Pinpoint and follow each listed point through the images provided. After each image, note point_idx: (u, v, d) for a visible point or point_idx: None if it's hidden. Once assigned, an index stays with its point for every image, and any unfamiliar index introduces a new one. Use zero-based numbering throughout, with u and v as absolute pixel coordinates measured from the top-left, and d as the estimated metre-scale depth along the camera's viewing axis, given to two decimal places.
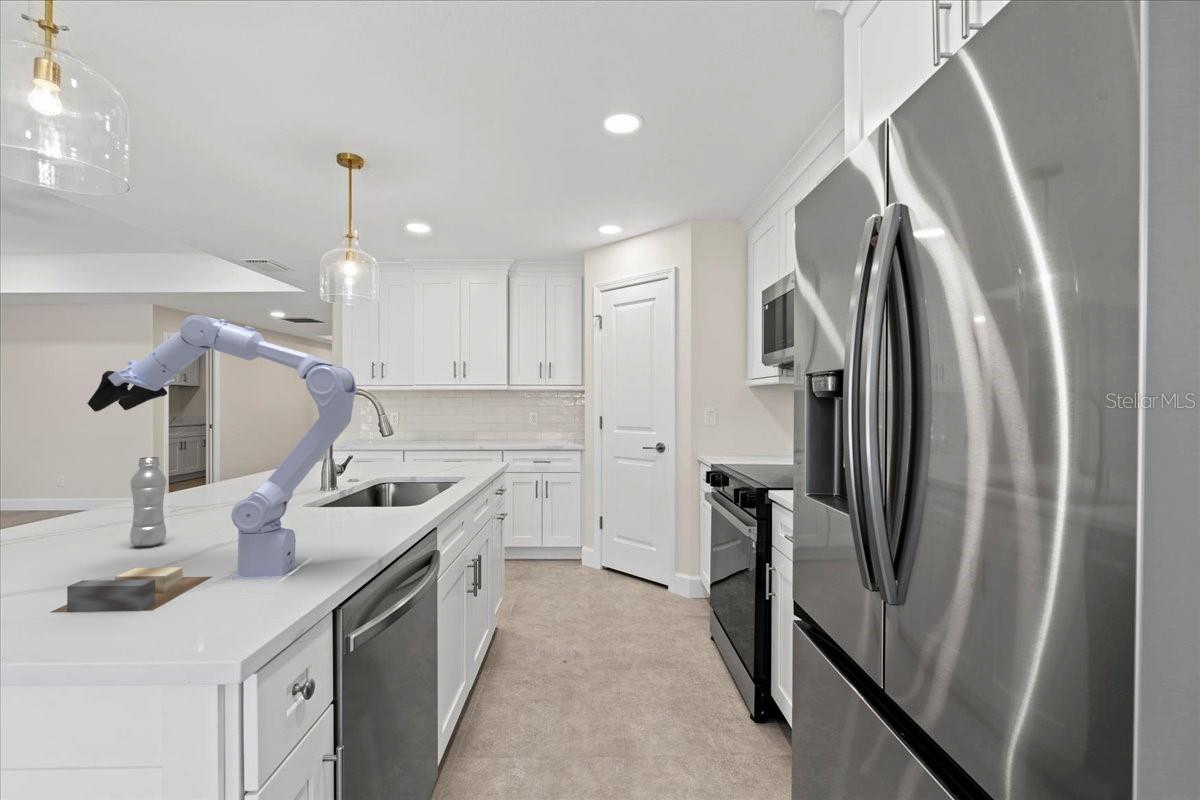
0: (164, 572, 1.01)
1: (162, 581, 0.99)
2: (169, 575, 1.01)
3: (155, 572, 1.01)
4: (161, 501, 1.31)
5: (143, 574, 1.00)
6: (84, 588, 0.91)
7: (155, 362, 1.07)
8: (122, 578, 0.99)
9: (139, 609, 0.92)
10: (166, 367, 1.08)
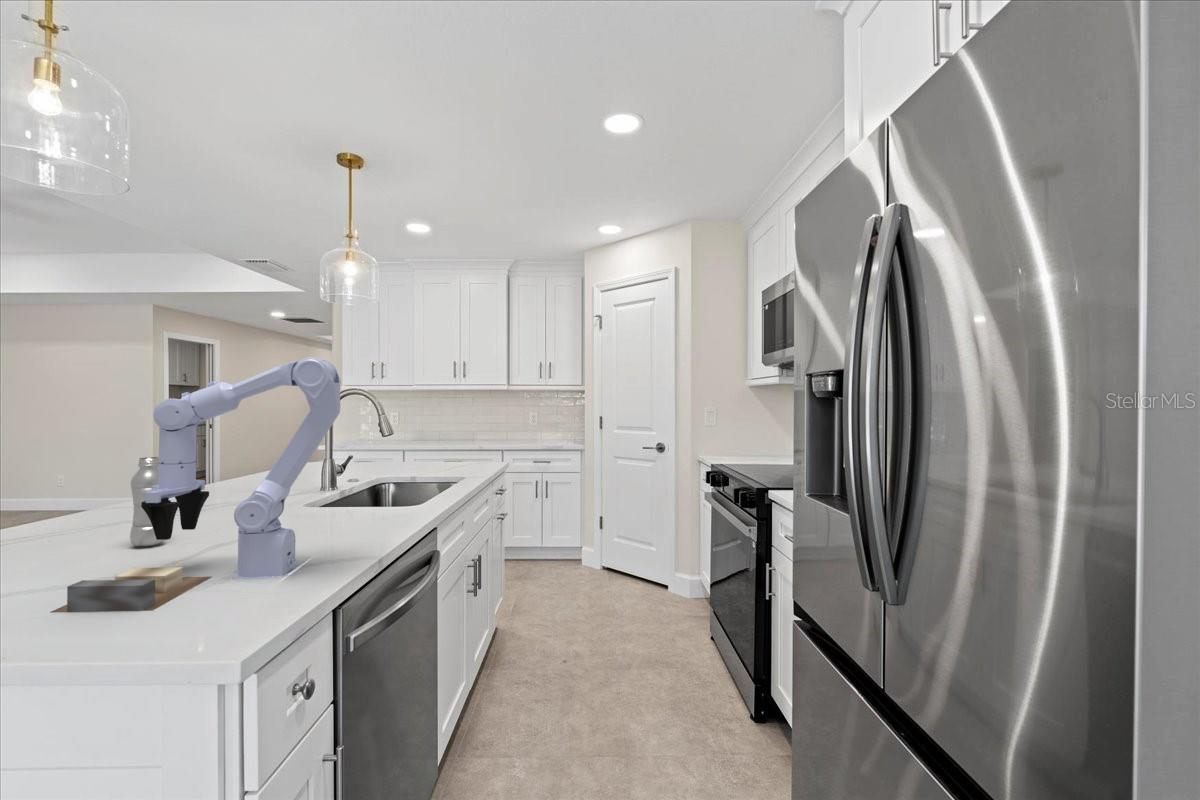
0: (164, 572, 1.01)
1: (162, 581, 0.99)
2: (169, 575, 1.01)
3: (155, 572, 1.01)
4: None
5: (143, 574, 1.00)
6: (84, 588, 0.91)
7: (168, 466, 1.06)
8: (122, 578, 0.99)
9: (139, 609, 0.92)
10: (183, 462, 1.07)
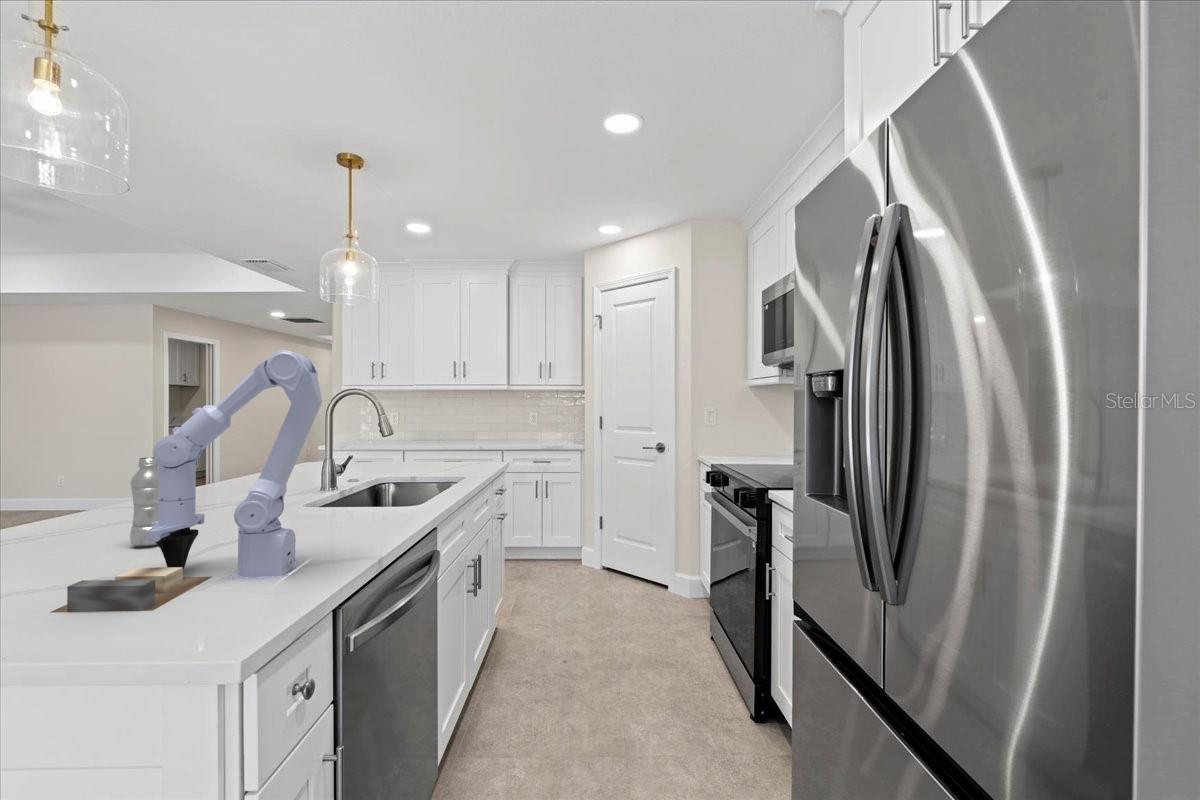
0: (164, 572, 1.01)
1: (162, 581, 0.99)
2: (169, 575, 1.01)
3: (155, 572, 1.01)
4: None
5: (143, 574, 1.00)
6: (84, 588, 0.91)
7: (168, 503, 1.06)
8: (122, 578, 0.99)
9: (139, 609, 0.92)
10: (182, 499, 1.07)
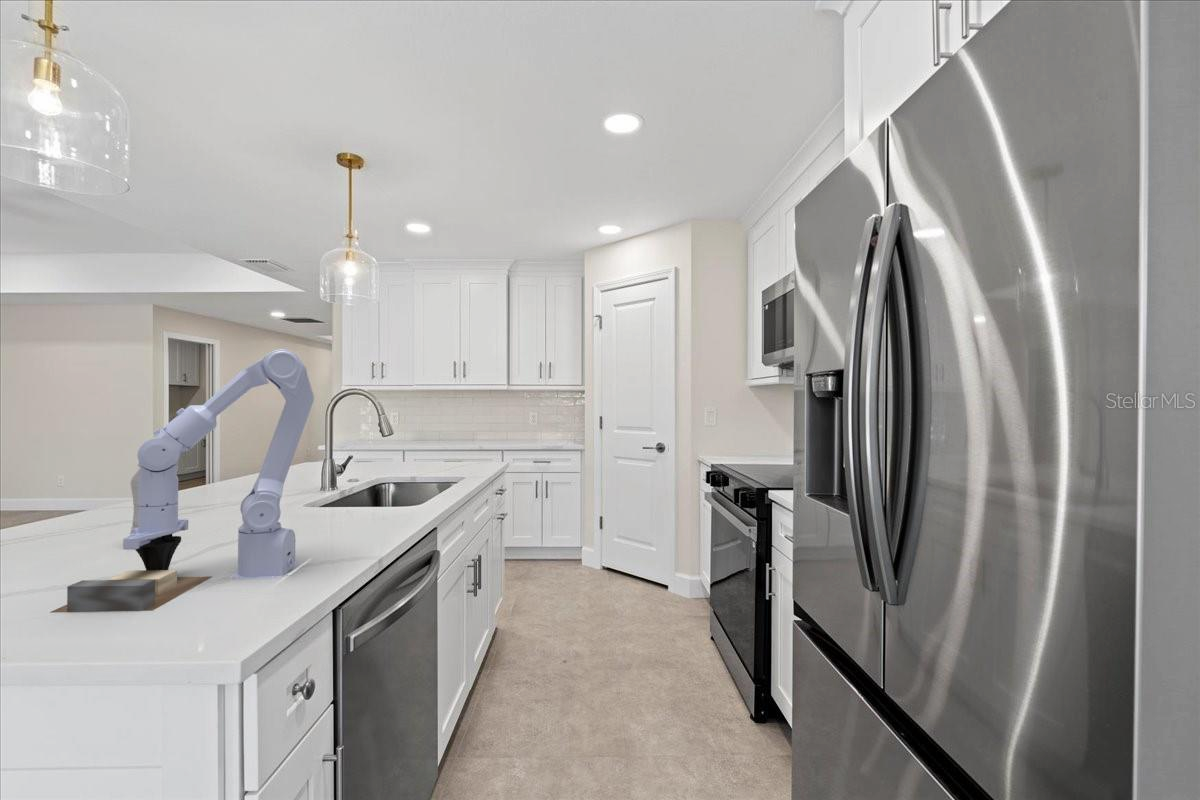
0: (158, 575, 1.00)
1: (155, 584, 0.98)
2: (163, 578, 0.99)
3: (149, 575, 1.00)
4: None
5: (136, 577, 0.98)
6: (84, 588, 0.91)
7: (148, 509, 1.01)
8: None
9: (139, 609, 0.92)
10: (170, 503, 1.03)
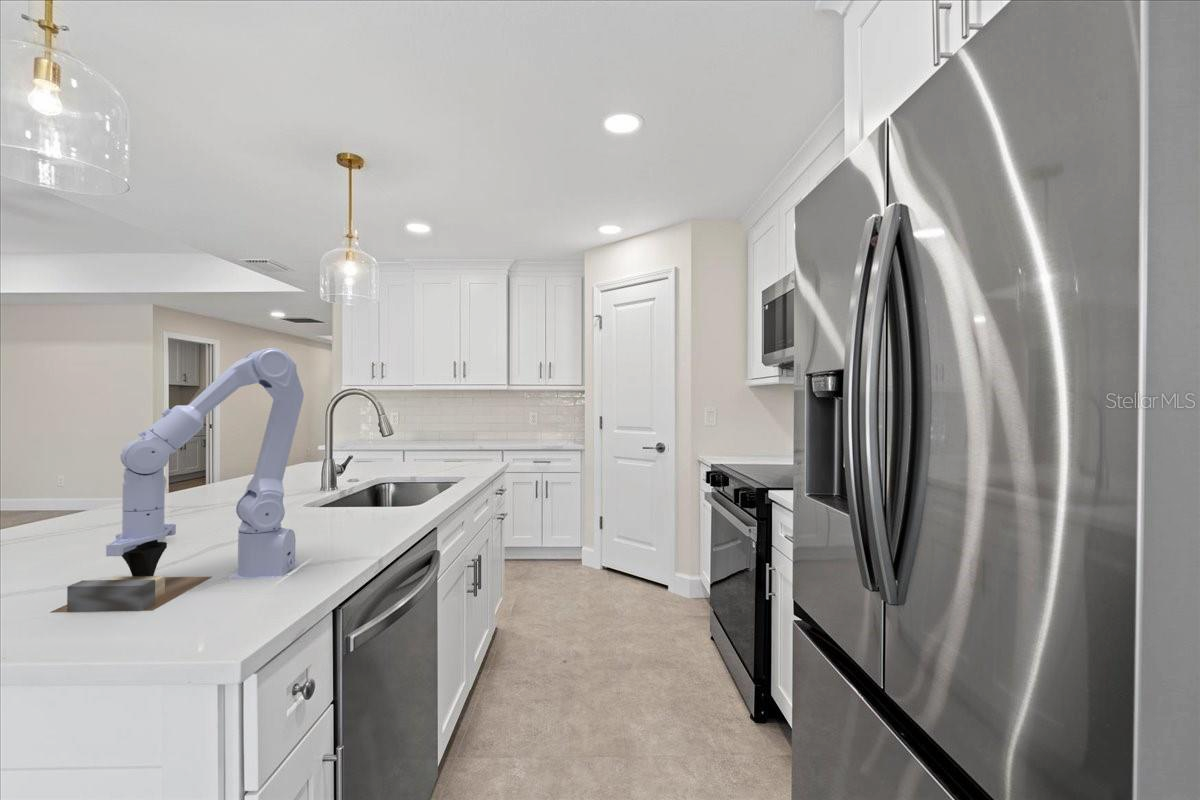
0: None
1: None
2: None
3: None
4: None
5: None
6: (84, 588, 0.91)
7: (133, 514, 0.97)
8: None
9: (139, 609, 0.92)
10: (158, 507, 0.99)
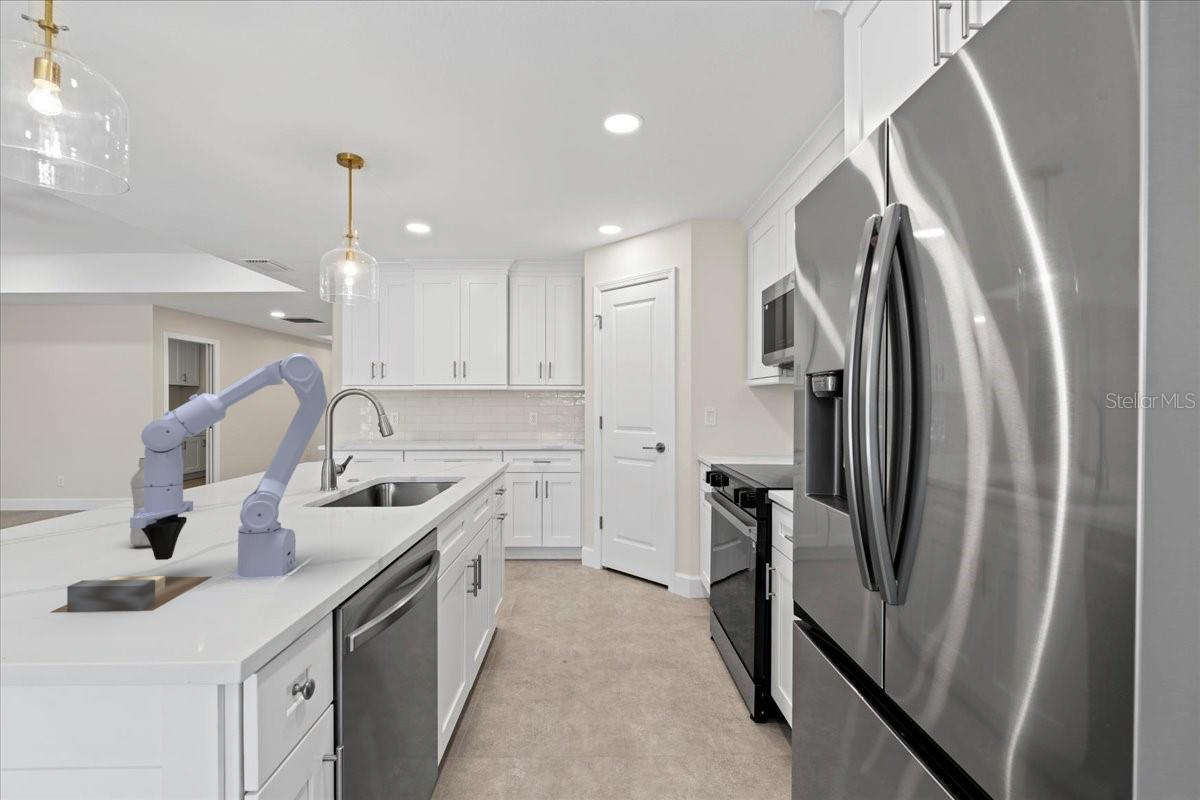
0: None
1: None
2: None
3: None
4: None
5: None
6: (84, 588, 0.91)
7: (154, 489, 1.02)
8: None
9: (139, 609, 0.92)
10: (173, 484, 1.04)
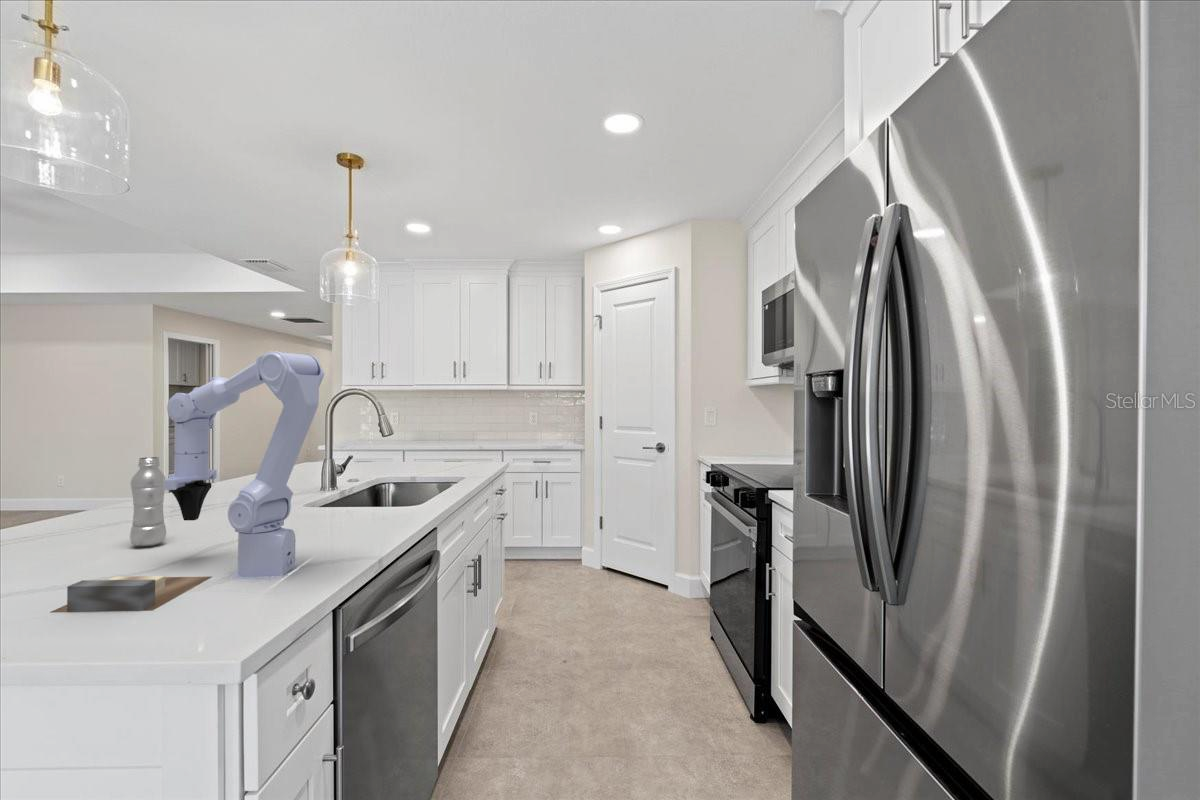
0: None
1: None
2: None
3: None
4: (161, 501, 1.31)
5: None
6: (84, 588, 0.91)
7: (183, 456, 1.14)
8: None
9: (139, 609, 0.92)
10: (188, 453, 1.14)
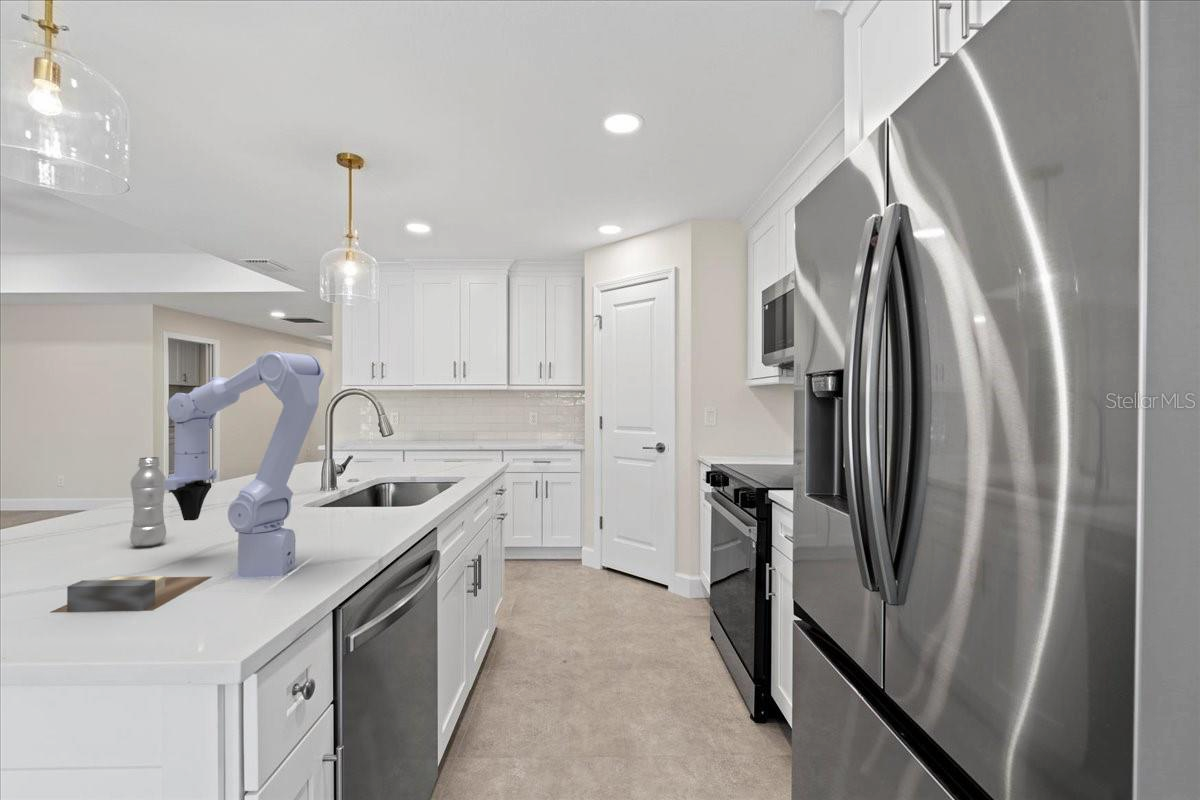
0: None
1: None
2: None
3: None
4: (161, 501, 1.31)
5: None
6: (84, 588, 0.91)
7: (183, 456, 1.14)
8: None
9: (139, 609, 0.92)
10: (188, 453, 1.14)
